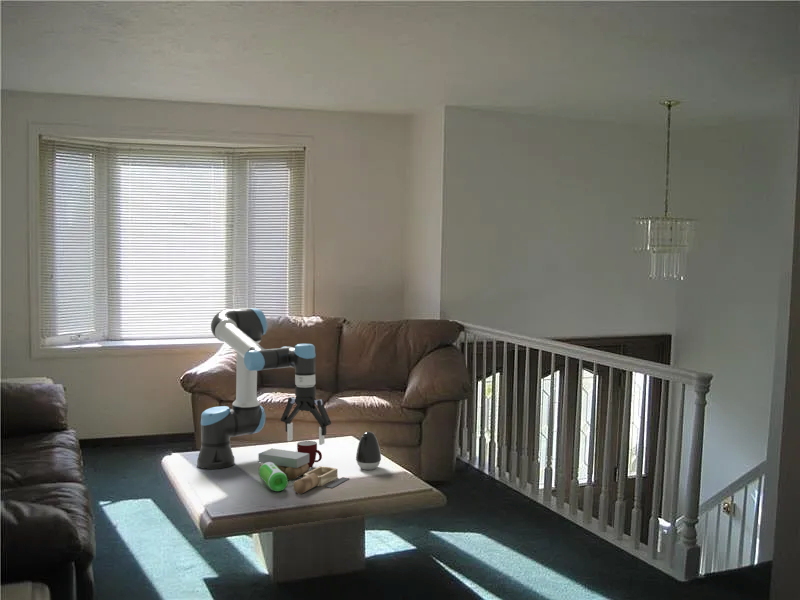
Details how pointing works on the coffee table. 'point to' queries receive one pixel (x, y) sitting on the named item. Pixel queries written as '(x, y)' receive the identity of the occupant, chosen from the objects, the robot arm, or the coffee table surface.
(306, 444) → the mug
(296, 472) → the roller bed
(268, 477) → the speaker
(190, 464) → the coffee table surface
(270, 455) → the slab
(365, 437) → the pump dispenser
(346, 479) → the stop strip
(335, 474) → the open rectangular frame
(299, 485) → the roller
